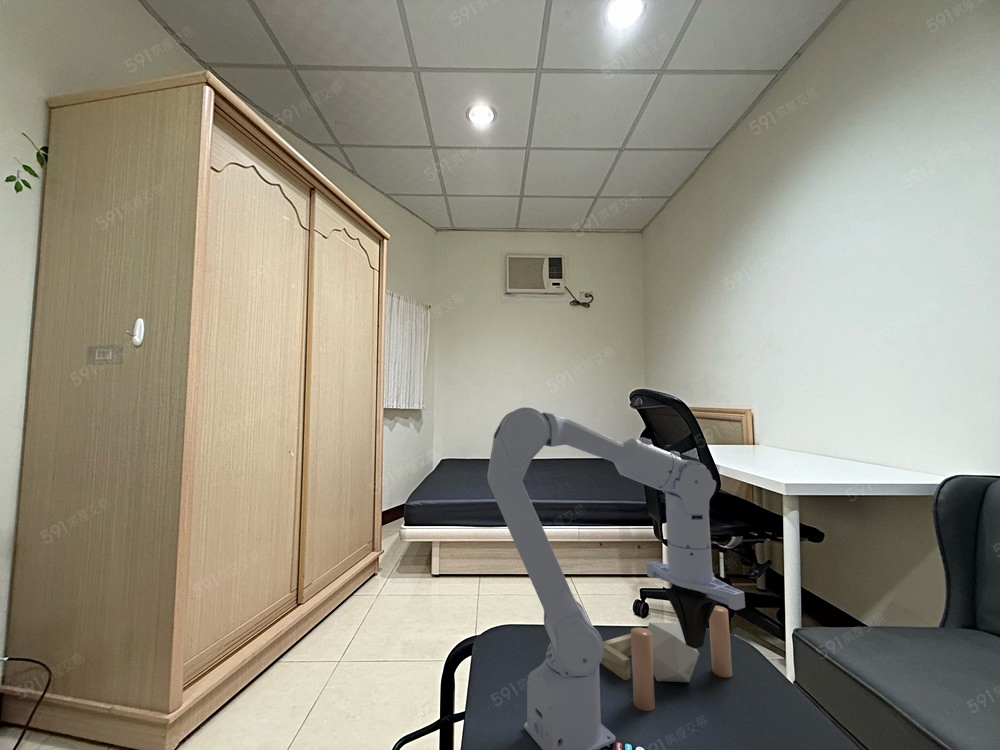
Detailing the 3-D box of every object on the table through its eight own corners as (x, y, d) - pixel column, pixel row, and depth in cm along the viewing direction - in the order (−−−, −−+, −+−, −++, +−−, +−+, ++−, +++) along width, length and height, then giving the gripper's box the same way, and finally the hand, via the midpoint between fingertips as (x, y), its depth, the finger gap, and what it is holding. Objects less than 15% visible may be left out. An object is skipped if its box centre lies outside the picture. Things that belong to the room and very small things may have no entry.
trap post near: (644, 713, 60) (641, 638, 61) (629, 701, 63) (626, 630, 64) (659, 707, 61) (656, 634, 63) (643, 695, 64) (640, 625, 65)
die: (691, 704, 63) (714, 641, 67) (638, 666, 66) (662, 607, 69) (674, 694, 70) (695, 637, 74) (627, 660, 73) (649, 607, 76)
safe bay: (624, 680, 68) (624, 660, 68) (598, 661, 74) (597, 643, 74) (685, 658, 75) (684, 640, 75) (656, 642, 80) (656, 625, 81)
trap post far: (724, 679, 68) (720, 614, 70) (708, 670, 71) (704, 607, 72) (736, 674, 70) (731, 610, 71) (719, 665, 72) (715, 604, 74)
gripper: (755, 553, 56) (764, 663, 54) (667, 530, 69) (671, 618, 67) (721, 560, 53) (729, 677, 51) (635, 535, 65) (639, 628, 64)
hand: (694, 645), depth 59 cm, fingers closed
